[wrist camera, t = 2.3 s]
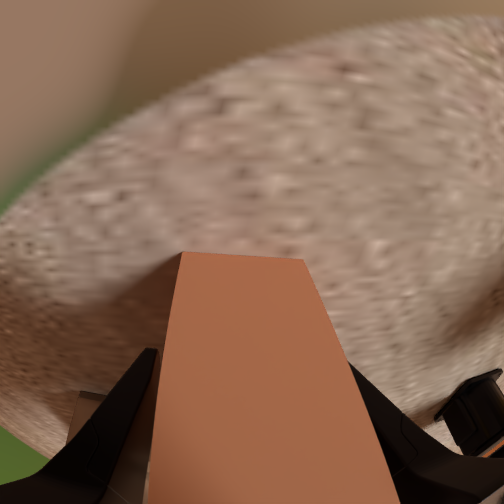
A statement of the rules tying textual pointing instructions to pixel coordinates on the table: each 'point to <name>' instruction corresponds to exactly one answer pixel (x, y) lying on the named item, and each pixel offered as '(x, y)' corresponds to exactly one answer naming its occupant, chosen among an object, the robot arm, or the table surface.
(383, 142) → the table surface
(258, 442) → the pin
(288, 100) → the table surface
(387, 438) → the robot arm
